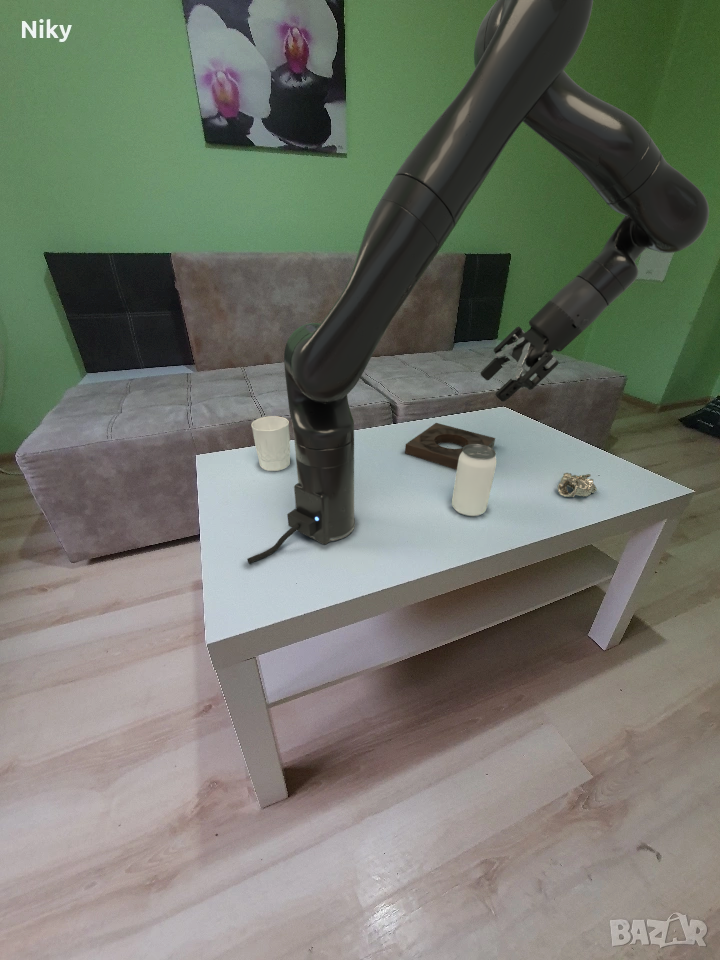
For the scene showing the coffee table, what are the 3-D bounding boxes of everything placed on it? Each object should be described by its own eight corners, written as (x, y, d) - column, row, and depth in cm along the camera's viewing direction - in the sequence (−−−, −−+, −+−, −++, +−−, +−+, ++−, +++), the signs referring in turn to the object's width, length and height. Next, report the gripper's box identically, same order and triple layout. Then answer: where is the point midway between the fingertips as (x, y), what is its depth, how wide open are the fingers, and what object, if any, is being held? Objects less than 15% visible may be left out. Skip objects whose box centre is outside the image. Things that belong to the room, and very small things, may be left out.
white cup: (289, 453, 92) (285, 414, 86) (295, 469, 85) (291, 427, 80) (255, 458, 89) (249, 418, 84) (259, 475, 83) (252, 432, 78)
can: (450, 496, 76) (458, 441, 70) (483, 499, 76) (495, 444, 69) (452, 515, 71) (461, 458, 65) (488, 518, 70) (501, 461, 64)
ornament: (576, 479, 82) (581, 464, 80) (602, 497, 77) (608, 481, 75) (545, 485, 80) (549, 470, 78) (569, 503, 75) (575, 487, 73)
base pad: (468, 473, 84) (470, 463, 83) (404, 453, 92) (405, 444, 91) (493, 447, 95) (495, 438, 94) (434, 431, 103) (435, 422, 102)
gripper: (535, 289, 68) (466, 360, 75) (576, 313, 57) (490, 394, 64) (559, 316, 71) (490, 381, 79) (602, 344, 60) (517, 417, 68)
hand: (490, 387), depth 71 cm, fingers open, 8 cm apart
